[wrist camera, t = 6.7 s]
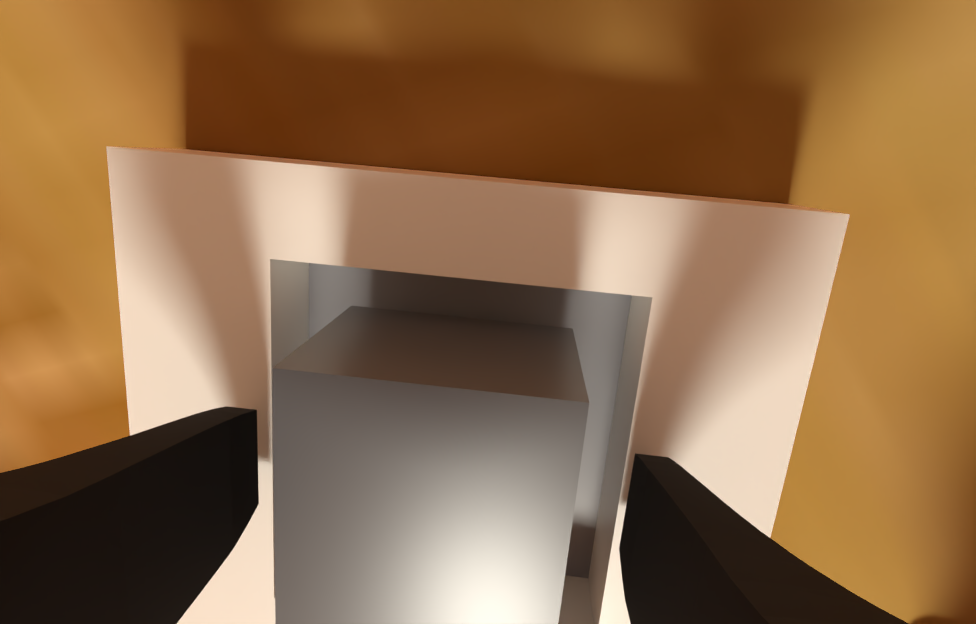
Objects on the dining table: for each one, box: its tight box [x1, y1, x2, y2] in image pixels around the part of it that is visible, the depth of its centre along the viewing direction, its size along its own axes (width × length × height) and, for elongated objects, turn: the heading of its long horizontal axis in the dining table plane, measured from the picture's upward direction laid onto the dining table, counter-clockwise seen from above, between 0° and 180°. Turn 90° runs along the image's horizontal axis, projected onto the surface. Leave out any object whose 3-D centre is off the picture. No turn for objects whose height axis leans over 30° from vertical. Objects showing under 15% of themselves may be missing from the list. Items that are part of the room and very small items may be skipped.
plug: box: [272, 306, 589, 624], centre depth 11 cm, size 4×5×5 cm
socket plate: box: [106, 146, 850, 624], centre depth 13 cm, size 13×14×3 cm
